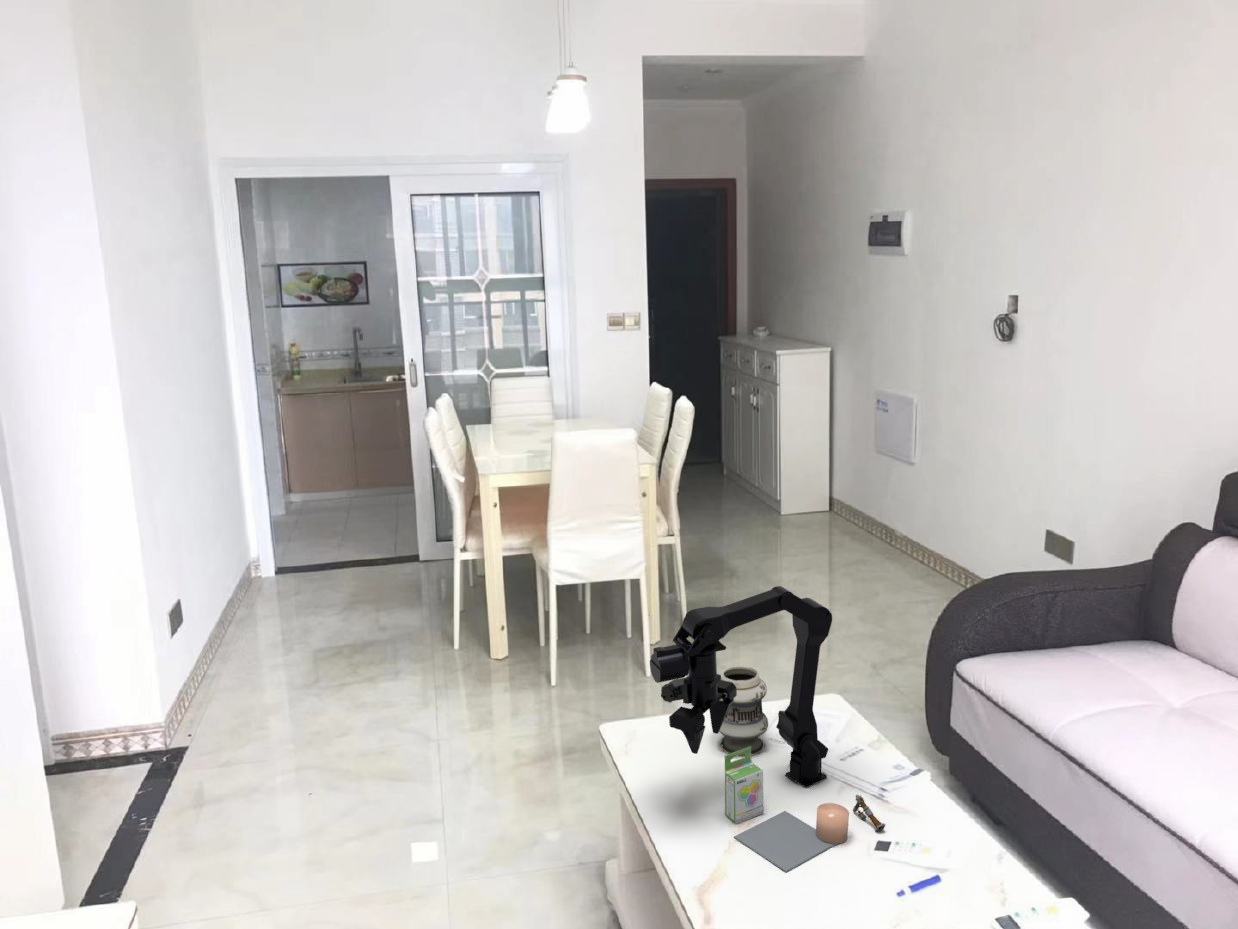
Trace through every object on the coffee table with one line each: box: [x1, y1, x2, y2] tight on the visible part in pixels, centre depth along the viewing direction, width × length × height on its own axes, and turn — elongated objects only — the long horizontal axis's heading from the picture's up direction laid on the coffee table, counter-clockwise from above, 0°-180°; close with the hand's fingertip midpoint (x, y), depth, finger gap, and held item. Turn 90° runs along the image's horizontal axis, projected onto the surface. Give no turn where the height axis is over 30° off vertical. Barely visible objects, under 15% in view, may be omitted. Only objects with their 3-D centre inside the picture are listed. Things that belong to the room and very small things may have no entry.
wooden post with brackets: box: [852, 794, 887, 833], centre depth 192 cm, size 2×8×4 cm, turn 27°
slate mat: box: [733, 810, 838, 874], centre depth 187 cm, size 14×14×1 cm
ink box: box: [724, 746, 765, 825], centre depth 195 cm, size 7×4×13 cm, turn 120°
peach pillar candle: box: [815, 802, 850, 845], centre depth 188 cm, size 6×6×5 cm
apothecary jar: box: [719, 665, 769, 757], centre depth 222 cm, size 12×12×18 cm
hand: (705, 743), depth 199 cm, fingers open, 9 cm apart
